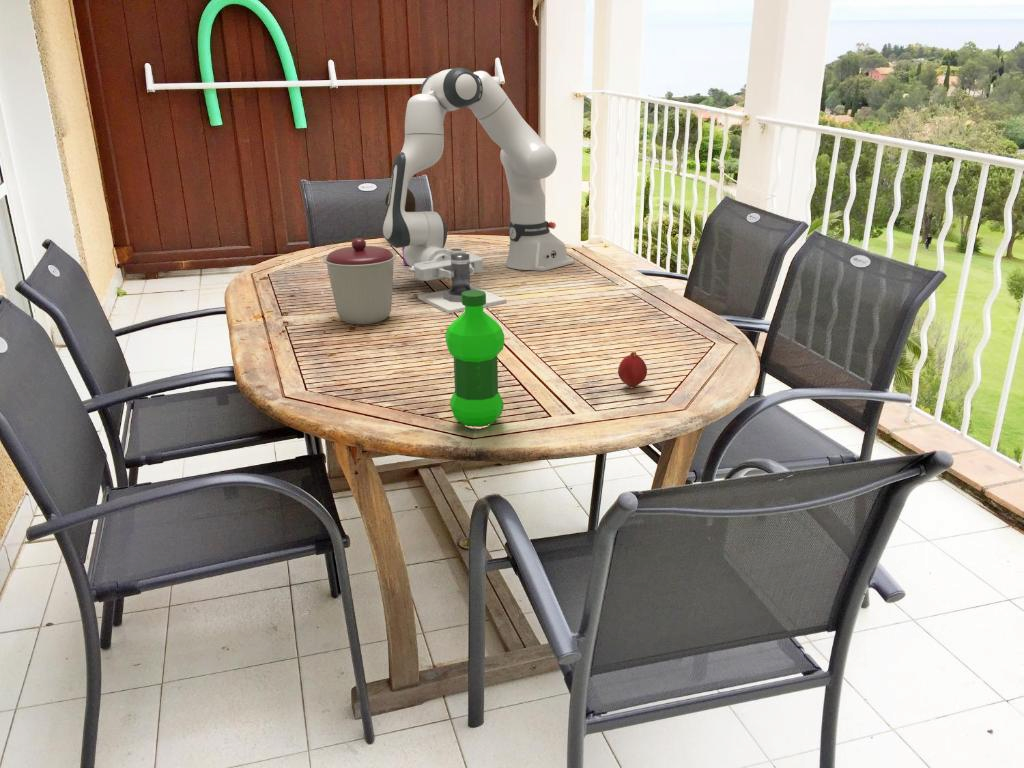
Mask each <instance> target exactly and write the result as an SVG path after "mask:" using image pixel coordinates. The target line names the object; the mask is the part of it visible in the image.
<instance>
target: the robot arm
mask: <svg viewBox="0 0 1024 768" xmlns="http://www.w3.org/2000/svg"><path fill="white" fill-rule="evenodd" d="M465 108H468V109H470V110H471V111H472V114H473V115H474V116H475V118H476V120H477V121H478V122H479V123H480V126H482V127H483V129H484V131H485V132H486V133H487V135H488V137H490V139H491V140H492V142H493V143H495V144H496V145H498V146H499V148H500V149H501V150H500V152H499V153H500V154H499V155H500V156H499V160H500V162H501V164H502V166H503V169H504V172H505V177H506V181H507V182H506V183H507V187H508V193H509V203H510V204H509V205H510V207H509V208H510V209H509V210H510V211H509V212H510V213H509V214H510V216H509V217H510V220H509V222H508V226H509V227H508V234H509V235H508V236H509V248H508V255H507V260H506V263H505V266H506V267H508V268H510V269H513V270H514V269H515V270H523V271H540V272H541V271H542V272H545V271H549V270H552V269H557V268H560V267H563V266H568V265H571V264H575V260H574V259H573V257H571V256H568V252H567V247H566V244H565V242H564V241H562V240H561V239H560V238H558V237H557V236H555V235H554V234H553V233H552V232H550V231H551V230H550V229H552V230H555V229H556V227H557V224H556V223H555V222H554V221H547V220H546V194H545V193H544V190H543V189H542V185H541V179H546V178H548V177H550V176H551V175H552V174H553V173H554V171H555V170H556V168H557V165H558V163H557V162H558V159H557V155H556V153H555V151H554V150H553V149H552V148H551V147H550V146H548V144H547V143H545V141H544V140H543V139H542V138H541V137H540V135H539V134H537V132H536V131H535V130H534V129H533V128H532V127H531V126H530V125H529V124H528V122H526V120H525V119H524V118H523V117H522V115H521V114H520V113H519V111H518V110H517V108H516V107H515V105H514V104H513V102H512V100H511V99H510V98H509V96H508V94H507V93H506V92H505V91H504V89H503V88H502V87H501V86H500V84H499V83H498V82H497V81H496V79H494V78H493V77H492V76H491V75H490V74H489V72H487V71H485V70H476V71H473V72H472V71H471V70H469V69H466V68H463V67H454V68H449V69H448V68H447V69H444V70H441V71H439V72H437V73H434V74H433V73H432V74H430V75H429V76H428V77H427V78H425V80H423V82H422V83H421V86H420V88H419V92H418V94H414V95H413V96H411V97H410V98H409V100H408V101H407V104H406V109H405V118H404V142H403V145H402V149H401V151H400V152H399V153H398V154H396V155H395V156H394V160H393V163H392V168H391V175H390V181H389V182H390V183H389V189H388V192H389V196H388V204H387V211H386V210H385V215H384V217H383V218H384V219H383V223H382V235H383V238H384V239H385V241H386V242H387V243H389V245H390V244H391V245H390V246H392V247H393V248H395V249H399V248H402V247H405V248H404V252H403V251H402V256H403V255H404V259H405V261H406V262H407V264H408V265H407V266H409V267H408V269H407V270H408V272H410V273H413V275H414V277H415V278H416V279H417V280H419V281H422V282H423V281H424V282H425V281H432V280H439V281H441V280H445V279H452V278H454V271H451V254H454V253H467V254H469V258H470V263H469V264H470V276H472V275H475V273H479V272H482V271H483V270H484V259H483V257H481V256H479V255H477V254H474V253H471V252H467V251H466V249H464V248H445V246H446V243H447V239H448V226H447V224H446V221H445V219H444V217H443V216H442V215H441V214H440V213H439V212H437V211H435V210H434V211H433V210H431V211H429V210H428V211H427V210H426V211H415V212H405V202H406V195H407V188H408V186H409V182H410V180H411V178H412V177H413V176H414V175H416V174H418V173H420V172H421V171H424V170H426V169H428V168H432V166H434V165H435V164H436V163H438V162H439V161H440V160H441V158H442V156H443V153H444V148H445V135H444V132H445V129H444V121H445V116H446V114H447V112H454V111H457V110H459V109H465Z"/></svg>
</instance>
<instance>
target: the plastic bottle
mask: <svg viewBox="0 0 1024 768" xmlns="http://www.w3.org/2000/svg"><path fill="white" fill-rule="evenodd" d="M461 297H462V304H463V305H464V306H465V311H463V313H461V314H460V315H459V316H458V317H457V318H456V319H455V320H454V321H453V322H451V324H449V325H448V327H447V328H446V332H445V342H446V349H447V350H448V352H449V354H450V355H451V356H452V357H453V374H454V375H453V377H454V391H453V393H452V396H451V397H450V401H449V404H450V409H451V412H452V414H453V417H454V419H455V420H456V421H457V422H458V423H460V424H461V423H462V424H464V425H467V426H484V425H488V424H491V425H492V424H493V423H494V422H495V421H497V419H499V417H501V415H502V413H503V411H504V401H503V399H502V395H501V394H500V392H499V372H498V371H499V370H498V369H499V367H498V364H499V363H498V355H499V354H500V353H501V352H502V351H503V349H504V346H505V334H504V331H503V329H502V326H501V325H500V323H498V322H497V321H496V320H495V319H494V318H492V317H491V316H490V315H489V314H488V313H487V312H485V311H484V307H483V305H484V304H486V293H485V292H484V291H480V290H469V291H464V292H462V293H461ZM462 424H461V425H462ZM464 425H463V426H464Z"/></svg>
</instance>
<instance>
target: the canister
mask: <svg viewBox="0 0 1024 768" xmlns="http://www.w3.org/2000/svg"><path fill="white" fill-rule="evenodd" d="M396 259H397V254H395V252H393V251H391V250H389V249H388V248H385V247H382V246H381V247H380V246H375V245H372V246H371V245H367V242H366V240H365V239H363V238H360V237H359V238H355V239H353V240H352V241H351V246H347V247H342V248H338V249H335V250H333V251H331V252H329V253H328V254H327V255H325V256H324V257H323V262H324V263H325V264H326V267H327V272H328V276H329V281H330V287H331V290H332V291H331V293H332V296H333V300H334V304H335V308H336V312H337V315H338V316H339V318H340V319H341V320H342V321H343V322H345V323H347V324H351V325H352V324H353V325H371V324H376V323H379V322H383V321H384V320H386V319H387V318H388V317H389V316H390V314H391V311H392V300H393V287H394V286H393V285H394V283H393V282H394V281H393V280H394V261H395V260H396Z"/></svg>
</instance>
